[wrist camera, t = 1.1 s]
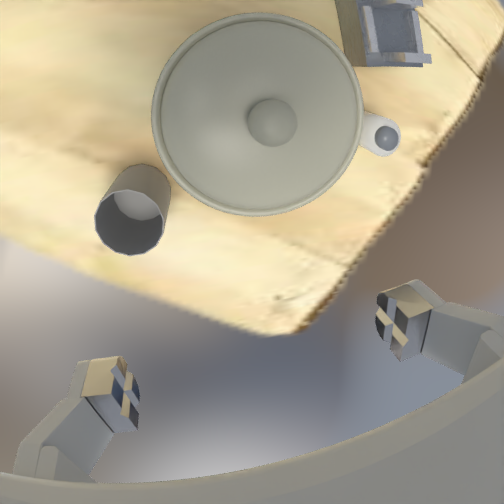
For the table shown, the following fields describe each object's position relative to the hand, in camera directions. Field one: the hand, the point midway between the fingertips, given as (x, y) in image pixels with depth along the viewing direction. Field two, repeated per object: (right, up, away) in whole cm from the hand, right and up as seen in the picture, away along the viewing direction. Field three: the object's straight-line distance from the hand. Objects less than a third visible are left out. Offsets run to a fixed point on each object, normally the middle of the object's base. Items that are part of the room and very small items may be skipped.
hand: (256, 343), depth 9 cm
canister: (-2, +22, +29) cm, 36 cm away
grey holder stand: (+16, +35, +24) cm, 45 cm away
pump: (+15, +21, +32) cm, 41 cm away
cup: (-16, +11, +33) cm, 38 cm away
